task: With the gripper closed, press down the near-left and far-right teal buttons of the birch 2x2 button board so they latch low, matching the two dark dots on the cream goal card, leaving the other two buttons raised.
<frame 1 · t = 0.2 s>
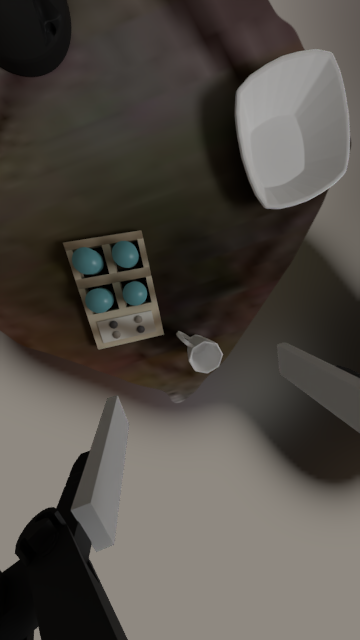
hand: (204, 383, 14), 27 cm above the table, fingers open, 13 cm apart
cup: (190, 339, 43), on the table
button B: (126, 255, 33), point 4 cm above the table, slide at 0.0 cm
board: (120, 292, 38), on the table
button D: (135, 293, 35), point 4 cm above the table, slide at 0.0 cm
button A: (88, 261, 32), point 4 cm above the table, slide at 0.0 cm
button C: (100, 300, 34), point 4 cm above the table, slide at 0.0 cm
bowl: (275, 154, 37), on the table
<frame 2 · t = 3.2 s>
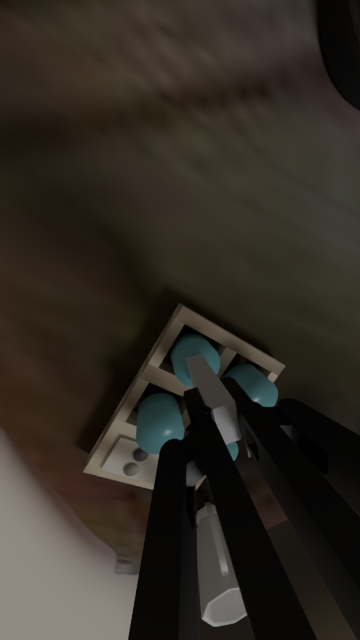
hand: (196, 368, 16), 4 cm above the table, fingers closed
cup: (207, 506, 27), on the table
button B: (248, 389, 19), point 3 cm above the table, slide at 0.0 cm
board: (183, 405, 22), on the table
button D: (212, 441, 20), point 3 cm above the table, slide at 0.0 cm
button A: (193, 358, 18), point 2 cm above the table, slide at 1.2 cm, touching gripper
button C: (159, 422, 18), point 3 cm above the table, slide at 0.0 cm
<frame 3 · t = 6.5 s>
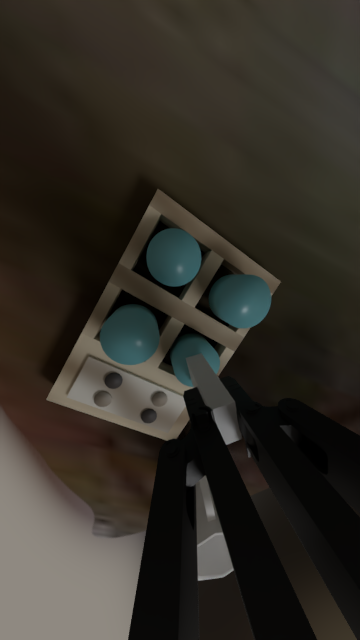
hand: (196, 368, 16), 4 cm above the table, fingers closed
cup: (195, 460, 25), on the table
button B: (237, 299, 16), point 4 cm above the table, slide at 0.0 cm
board: (165, 332, 19), on the table
button D: (193, 358, 18), point 2 cm above the table, slide at 1.2 cm, touching gripper
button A: (172, 259, 16), point 2 cm above the table, slide at 1.6 cm
button C: (132, 332, 15), point 3 cm above the table, slide at 0.0 cm
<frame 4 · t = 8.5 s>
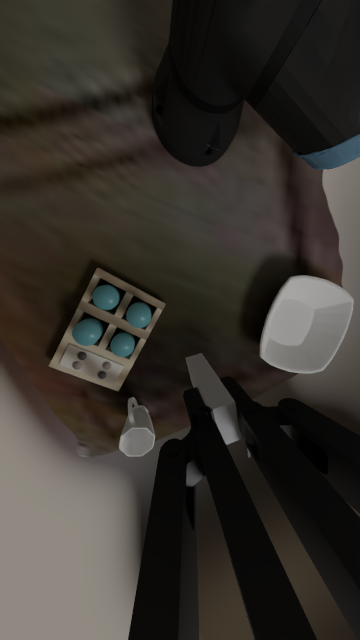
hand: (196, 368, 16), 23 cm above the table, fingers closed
cup: (137, 407, 42), on the table
button B: (139, 314, 34), point 4 cm above the table, slide at 0.0 cm
board: (110, 331, 37), on the table
button D: (123, 343, 36), point 2 cm above the table, slide at 1.5 cm
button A: (107, 297, 34), point 2 cm above the table, slide at 1.6 cm
button C: (88, 331, 33), point 4 cm above the table, slide at 0.0 cm
bowl: (289, 322, 45), on the table
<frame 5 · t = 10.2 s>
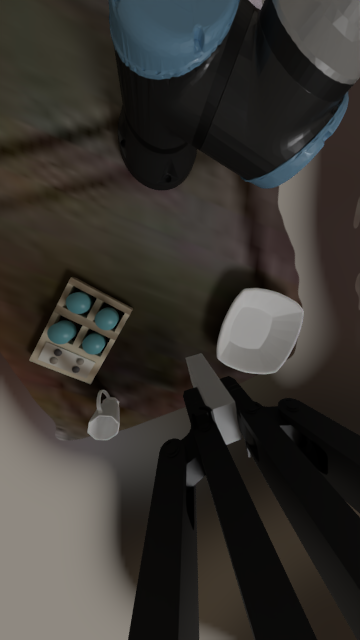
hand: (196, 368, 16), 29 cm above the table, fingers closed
cup: (109, 398, 48), on the table
button B: (107, 318, 39), point 4 cm above the table, slide at 0.0 cm
board: (84, 332, 42), on the table
button D: (94, 342, 42), point 2 cm above the table, slide at 1.5 cm
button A: (79, 302, 39), point 2 cm above the table, slide at 1.6 cm
button C: (62, 332, 38), point 3 cm above the table, slide at 0.0 cm
bowl: (249, 328, 50), on the table
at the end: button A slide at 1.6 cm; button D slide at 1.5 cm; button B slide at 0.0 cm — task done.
